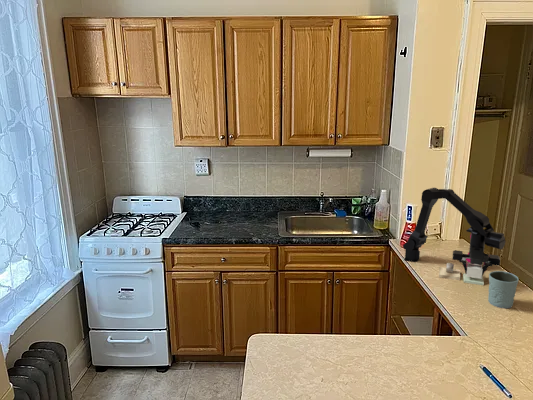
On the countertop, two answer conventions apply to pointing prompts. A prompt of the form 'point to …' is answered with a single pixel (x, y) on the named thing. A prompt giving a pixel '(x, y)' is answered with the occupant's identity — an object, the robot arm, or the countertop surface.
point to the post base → (451, 276)
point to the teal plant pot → (502, 289)
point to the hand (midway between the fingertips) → (473, 275)
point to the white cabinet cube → (474, 270)
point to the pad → (473, 280)
